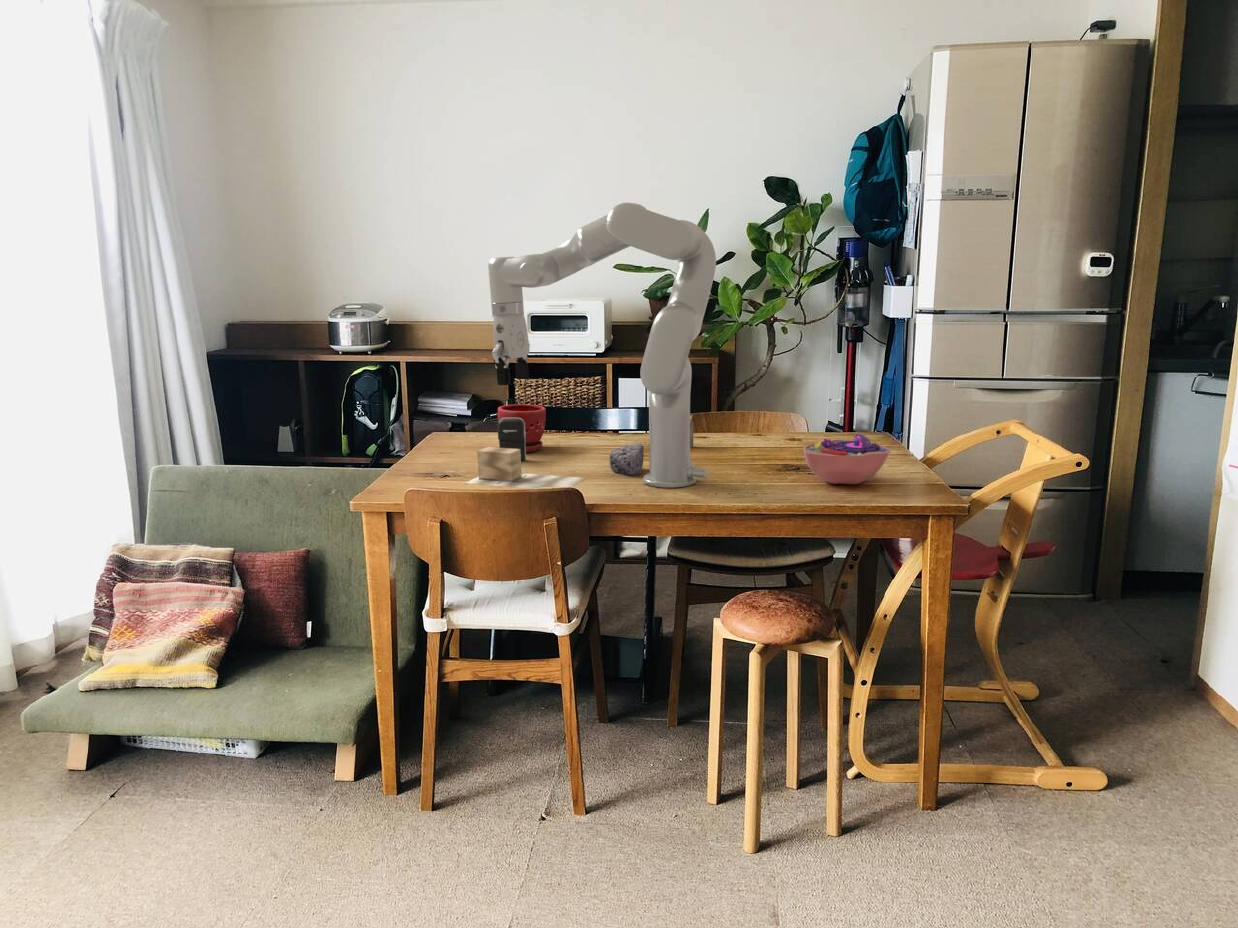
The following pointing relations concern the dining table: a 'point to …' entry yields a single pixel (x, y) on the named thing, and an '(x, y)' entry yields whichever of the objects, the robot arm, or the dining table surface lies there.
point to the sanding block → (499, 464)
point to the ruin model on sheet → (691, 432)
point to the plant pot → (527, 422)
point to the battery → (512, 434)
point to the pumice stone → (627, 459)
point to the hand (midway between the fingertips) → (513, 381)
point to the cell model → (846, 459)
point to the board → (532, 481)
